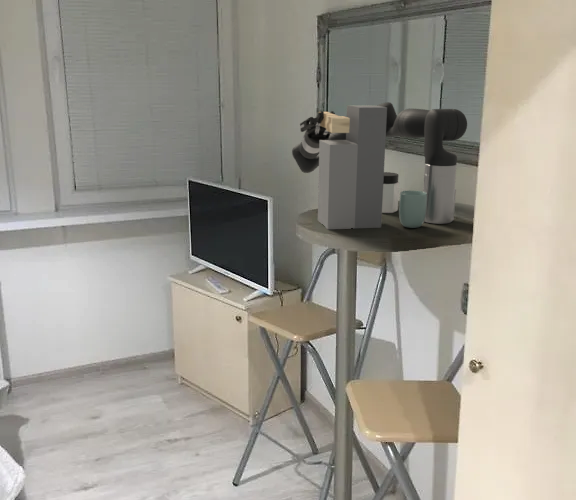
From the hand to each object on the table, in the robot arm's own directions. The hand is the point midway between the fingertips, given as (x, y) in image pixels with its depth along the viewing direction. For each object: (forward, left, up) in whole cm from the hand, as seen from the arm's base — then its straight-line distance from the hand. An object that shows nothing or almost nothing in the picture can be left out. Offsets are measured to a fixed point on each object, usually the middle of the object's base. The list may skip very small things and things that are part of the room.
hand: (327, 114), depth 193 cm
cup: (-11, +25, -31) cm, 42 cm away
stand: (+1, +11, -31) cm, 33 cm away
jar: (-22, +5, -31) cm, 39 cm away
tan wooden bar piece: (+2, +3, -4) cm, 5 cm away
